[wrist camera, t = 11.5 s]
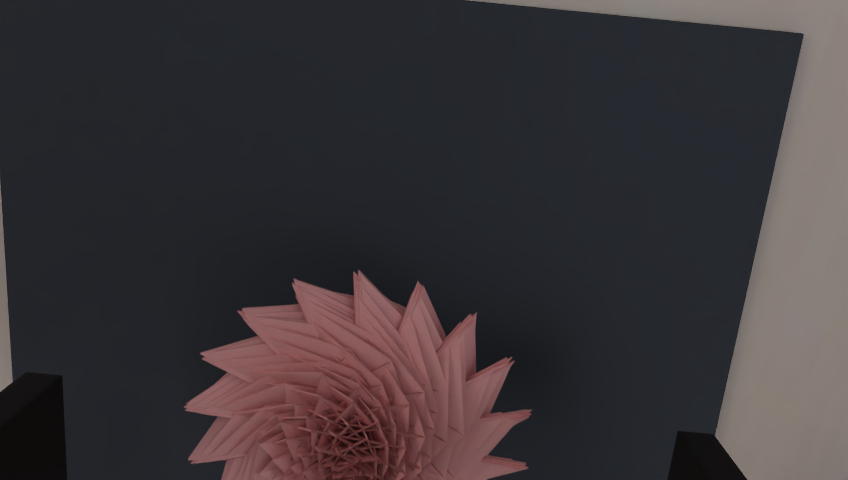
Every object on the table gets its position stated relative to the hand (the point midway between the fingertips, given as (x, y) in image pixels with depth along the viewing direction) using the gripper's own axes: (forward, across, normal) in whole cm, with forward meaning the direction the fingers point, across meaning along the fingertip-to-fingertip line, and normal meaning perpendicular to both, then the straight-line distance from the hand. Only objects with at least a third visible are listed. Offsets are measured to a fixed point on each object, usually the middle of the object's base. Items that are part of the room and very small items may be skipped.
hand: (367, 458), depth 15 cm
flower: (+5, 0, 0) cm, 5 cm away
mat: (+5, 0, 0) cm, 5 cm away
